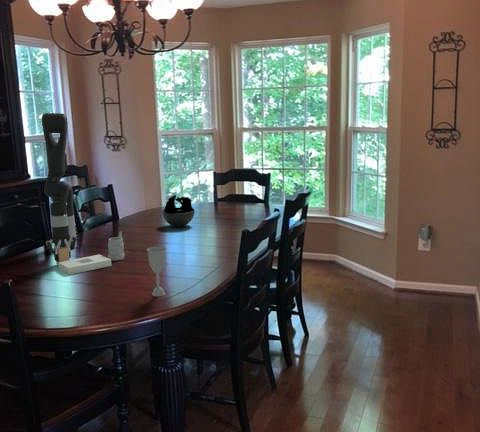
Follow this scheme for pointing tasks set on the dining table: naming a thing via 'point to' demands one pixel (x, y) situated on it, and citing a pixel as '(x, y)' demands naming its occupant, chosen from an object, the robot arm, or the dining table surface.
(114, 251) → the mug
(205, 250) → the dining table surface
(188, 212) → the coal bowl
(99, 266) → the socket plate
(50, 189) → the robot arm
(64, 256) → the plug
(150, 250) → the chalice
